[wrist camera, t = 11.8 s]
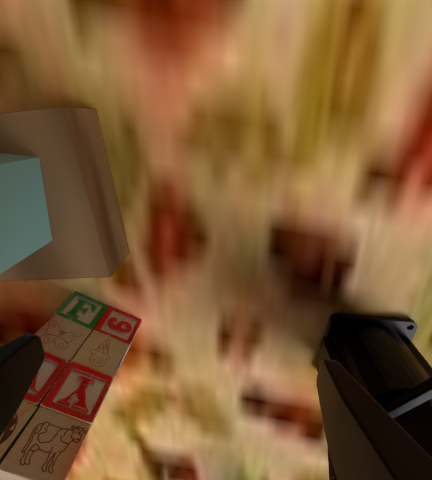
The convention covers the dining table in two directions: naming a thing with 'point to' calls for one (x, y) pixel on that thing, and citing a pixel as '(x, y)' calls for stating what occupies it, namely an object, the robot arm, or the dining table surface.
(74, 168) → the walnut block
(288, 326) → the dining table surface
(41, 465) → the stack of blocks
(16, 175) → the teal cube
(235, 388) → the dining table surface
